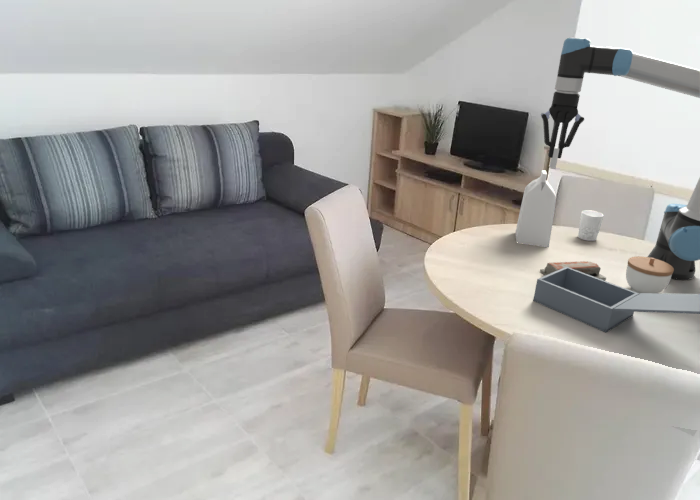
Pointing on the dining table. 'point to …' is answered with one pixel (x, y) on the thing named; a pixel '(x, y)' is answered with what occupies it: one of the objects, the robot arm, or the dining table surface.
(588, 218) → the white cup
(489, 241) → the dining table surface
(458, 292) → the dining table surface
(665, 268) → the lidded bowl
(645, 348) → the dining table surface
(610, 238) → the dining table surface
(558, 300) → the mailer box
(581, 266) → the packaged product
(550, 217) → the milk
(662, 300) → the lid
